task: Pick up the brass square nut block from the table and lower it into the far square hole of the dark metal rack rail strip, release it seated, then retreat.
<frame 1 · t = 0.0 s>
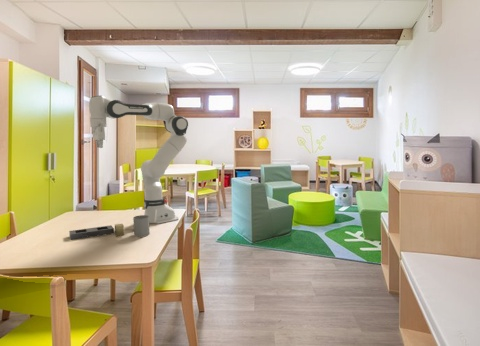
hand: (99, 147, 200), 48 cm above the table, fingers open, 8 cm apart
cup: (141, 234, 190), on the table
nut block: (119, 235, 188), on the table
rack rail: (92, 234, 190), on the table
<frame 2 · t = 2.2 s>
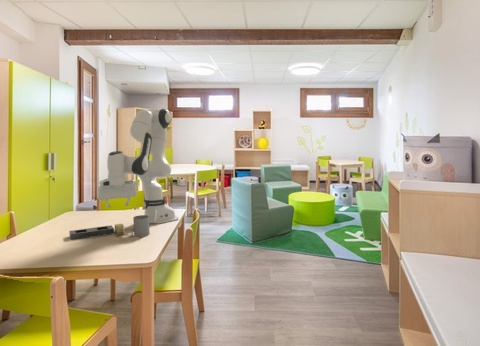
hand: (117, 206, 186), 16 cm above the table, fingers open, 8 cm apart
nothing on the table moved.
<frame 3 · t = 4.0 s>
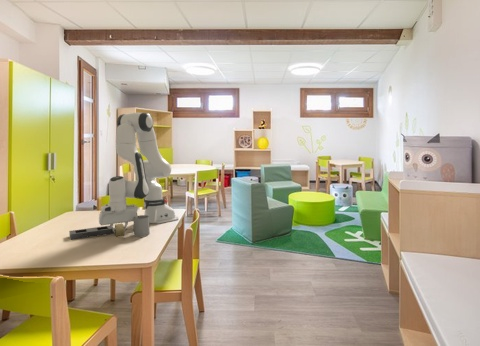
hand: (119, 230, 188), 3 cm above the table, fingers closed on nut block, 4 cm apart
nut block: (119, 235, 188), on the table, touching gripper
everything else where it was.
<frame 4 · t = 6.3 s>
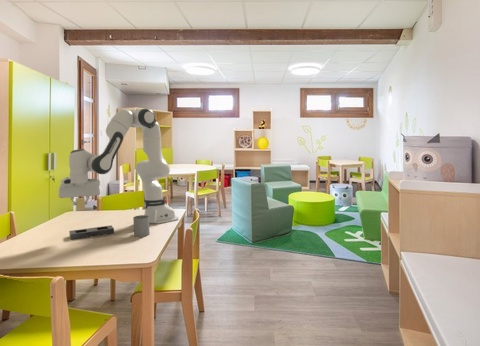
hand: (80, 204, 185), 18 cm above the table, fingers closed on nut block, 4 cm apart
nut block: (80, 209, 185), point 15 cm above the table, touching gripper
everything else where it was.
when the fingers open (4 cm above the table, at t = 8.5 s): nut block drops 1 cm, resting in rack rail.
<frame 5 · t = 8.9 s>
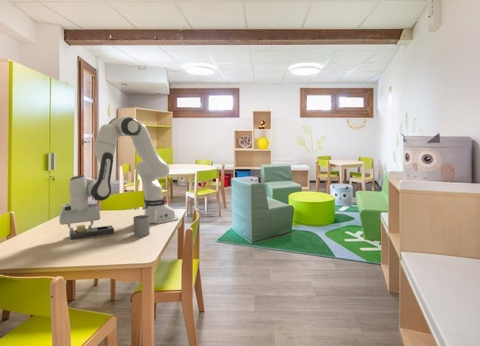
hand: (81, 230, 187), 4 cm above the table, fingers open, 8 cm apart
nut block: (81, 236, 187), resting in rack rail
everything else where it was.
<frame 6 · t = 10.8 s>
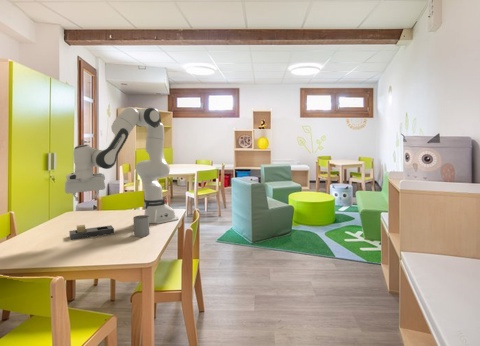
hand: (86, 199, 188), 20 cm above the table, fingers open, 8 cm apart
nothing on the table moved.
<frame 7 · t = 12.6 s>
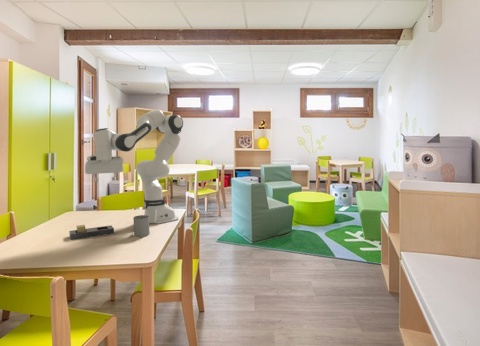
hand: (104, 181, 195), 29 cm above the table, fingers open, 8 cm apart
nothing on the table moved.
at the end: nut block 0.1 cm from the target spot on the rack rail, point 0.0 cm above the rack rail's base; the gripper is holding nothing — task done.
